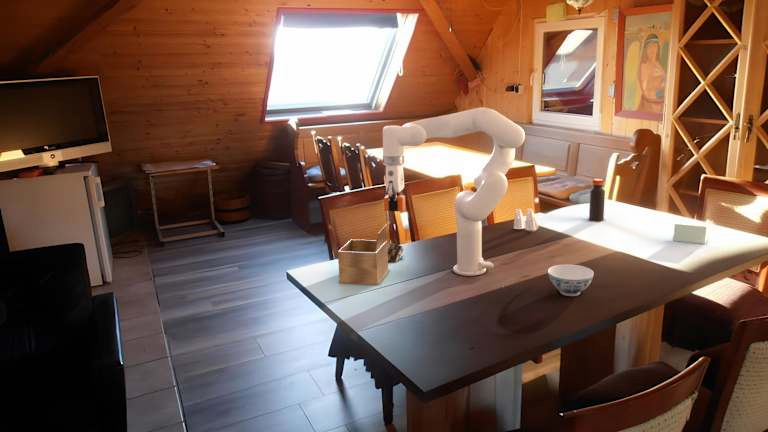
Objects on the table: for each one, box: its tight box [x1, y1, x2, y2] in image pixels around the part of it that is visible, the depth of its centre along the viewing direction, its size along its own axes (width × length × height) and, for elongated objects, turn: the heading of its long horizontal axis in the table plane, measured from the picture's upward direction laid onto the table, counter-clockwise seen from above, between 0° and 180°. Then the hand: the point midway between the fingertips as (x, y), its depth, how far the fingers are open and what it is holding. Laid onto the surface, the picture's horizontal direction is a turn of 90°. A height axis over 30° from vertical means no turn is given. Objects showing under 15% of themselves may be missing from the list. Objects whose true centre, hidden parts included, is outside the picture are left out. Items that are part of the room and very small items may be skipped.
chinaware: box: [547, 263, 595, 297], centre depth 206 cm, size 15×15×8 cm
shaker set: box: [513, 208, 539, 233], centre depth 281 cm, size 12×4×11 cm, turn 40°
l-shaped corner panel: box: [673, 219, 710, 245], centre depth 258 cm, size 12×12×8 cm
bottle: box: [588, 178, 606, 222], centre depth 292 cm, size 7×7×20 cm
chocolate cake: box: [387, 239, 405, 263], centre depth 251 cm, size 10×7×12 cm
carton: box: [337, 239, 389, 286], centre depth 230 cm, size 15×16×12 cm
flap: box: [376, 221, 391, 251], centre depth 225 cm, size 7×15×1 cm
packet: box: [383, 194, 406, 212], centre depth 219 cm, size 7×4×5 cm, turn 75°
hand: (395, 208), depth 220 cm, fingers closed on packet, 4 cm apart
